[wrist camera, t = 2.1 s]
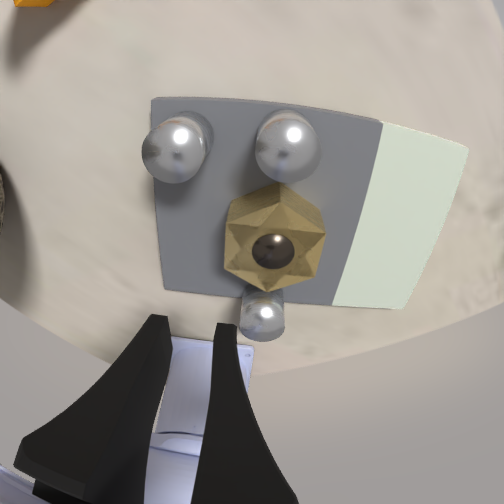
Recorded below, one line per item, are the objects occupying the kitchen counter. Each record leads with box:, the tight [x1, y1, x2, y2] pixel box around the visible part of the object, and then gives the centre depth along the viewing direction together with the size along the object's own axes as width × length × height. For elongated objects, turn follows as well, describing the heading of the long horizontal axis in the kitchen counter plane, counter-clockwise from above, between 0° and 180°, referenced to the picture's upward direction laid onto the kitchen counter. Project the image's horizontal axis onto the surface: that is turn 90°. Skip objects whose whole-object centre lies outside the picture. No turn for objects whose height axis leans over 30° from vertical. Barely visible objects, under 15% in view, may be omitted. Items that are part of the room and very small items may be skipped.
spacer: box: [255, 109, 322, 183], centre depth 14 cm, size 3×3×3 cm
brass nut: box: [224, 181, 326, 292], centre depth 17 cm, size 6×5×3 cm
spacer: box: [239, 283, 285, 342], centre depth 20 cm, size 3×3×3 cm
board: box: [151, 97, 469, 309], centre depth 18 cm, size 13×18×1 cm
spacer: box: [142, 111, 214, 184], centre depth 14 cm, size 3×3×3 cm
